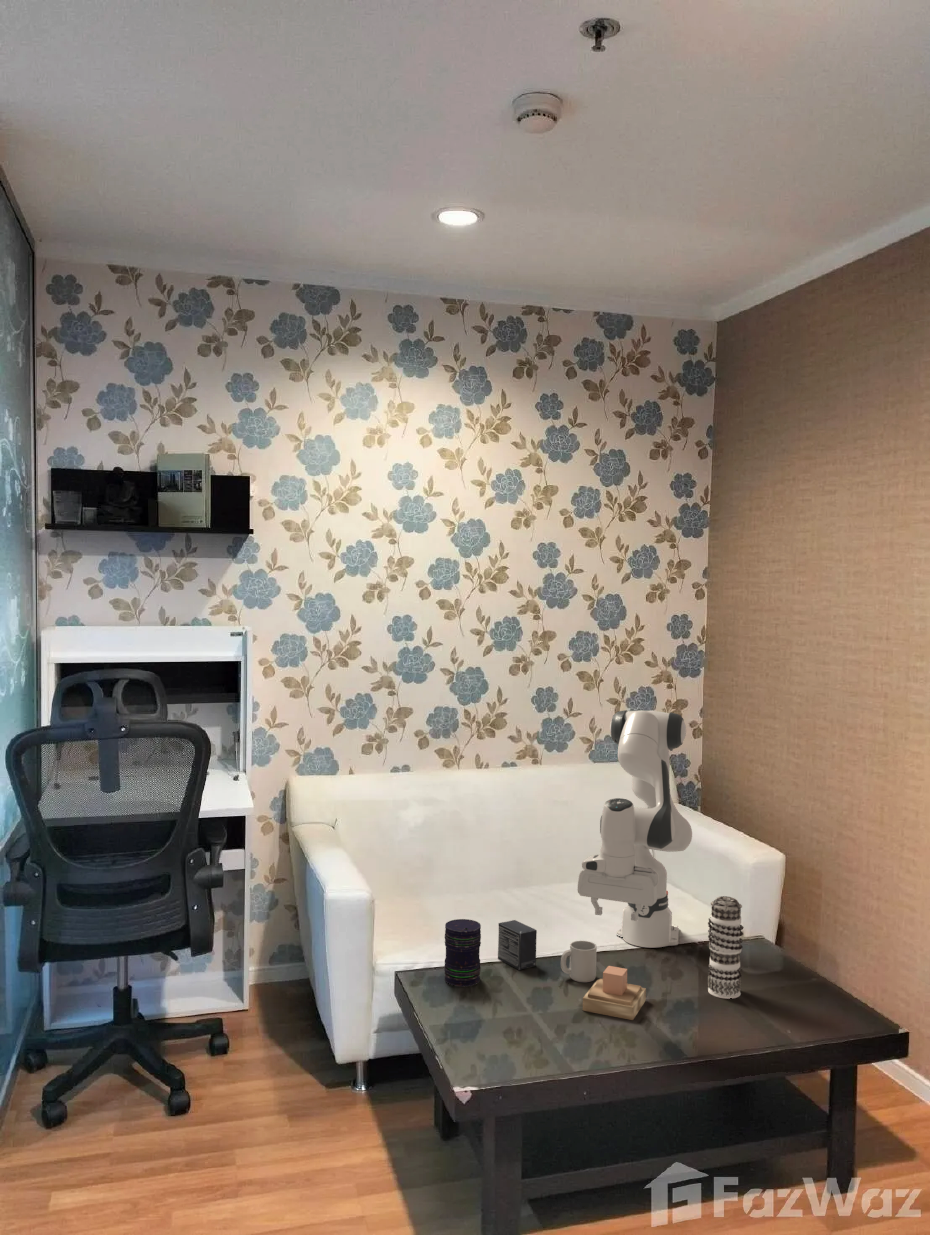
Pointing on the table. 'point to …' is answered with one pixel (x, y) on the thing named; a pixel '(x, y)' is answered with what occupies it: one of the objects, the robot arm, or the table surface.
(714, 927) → the decorative candle
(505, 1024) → the table surface
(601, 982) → the plinth
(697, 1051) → the table surface
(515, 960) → the small box
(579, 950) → the cup
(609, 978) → the cube
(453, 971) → the storage jar
